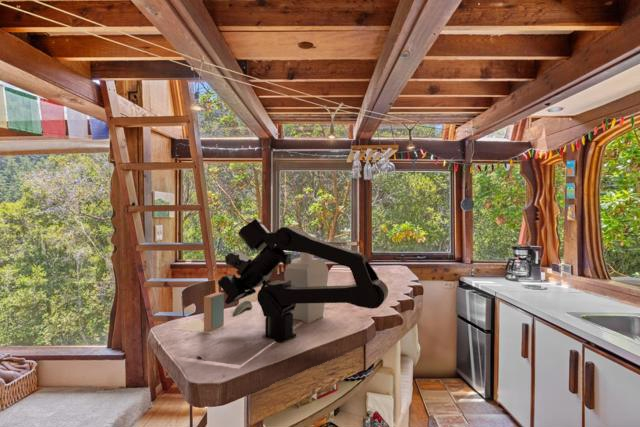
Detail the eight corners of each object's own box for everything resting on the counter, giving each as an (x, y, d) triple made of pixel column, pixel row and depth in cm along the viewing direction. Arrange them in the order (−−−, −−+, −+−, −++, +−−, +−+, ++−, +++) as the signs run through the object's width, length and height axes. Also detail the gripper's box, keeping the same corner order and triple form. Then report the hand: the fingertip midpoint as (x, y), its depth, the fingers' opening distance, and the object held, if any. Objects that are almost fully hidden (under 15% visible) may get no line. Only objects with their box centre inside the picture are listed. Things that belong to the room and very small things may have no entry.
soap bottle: (301, 311, 122) (302, 232, 122) (328, 315, 117) (328, 233, 117) (278, 320, 111) (279, 233, 112) (307, 325, 106) (307, 234, 107)
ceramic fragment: (235, 319, 113) (235, 307, 113) (219, 318, 114) (219, 306, 114) (254, 309, 126) (254, 298, 126) (240, 308, 128) (240, 297, 128)
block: (224, 325, 104) (224, 292, 104) (211, 331, 98) (211, 297, 98) (216, 324, 104) (217, 292, 104) (203, 330, 99) (204, 296, 99)
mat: (229, 326, 105) (229, 324, 105) (210, 335, 96) (210, 333, 96) (193, 322, 109) (194, 320, 109) (172, 331, 100) (172, 328, 100)
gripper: (261, 239, 107) (227, 275, 111) (225, 243, 90) (186, 286, 93) (286, 268, 105) (251, 304, 108) (254, 278, 87) (213, 320, 90)
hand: (226, 303), depth 100 cm, fingers closed
